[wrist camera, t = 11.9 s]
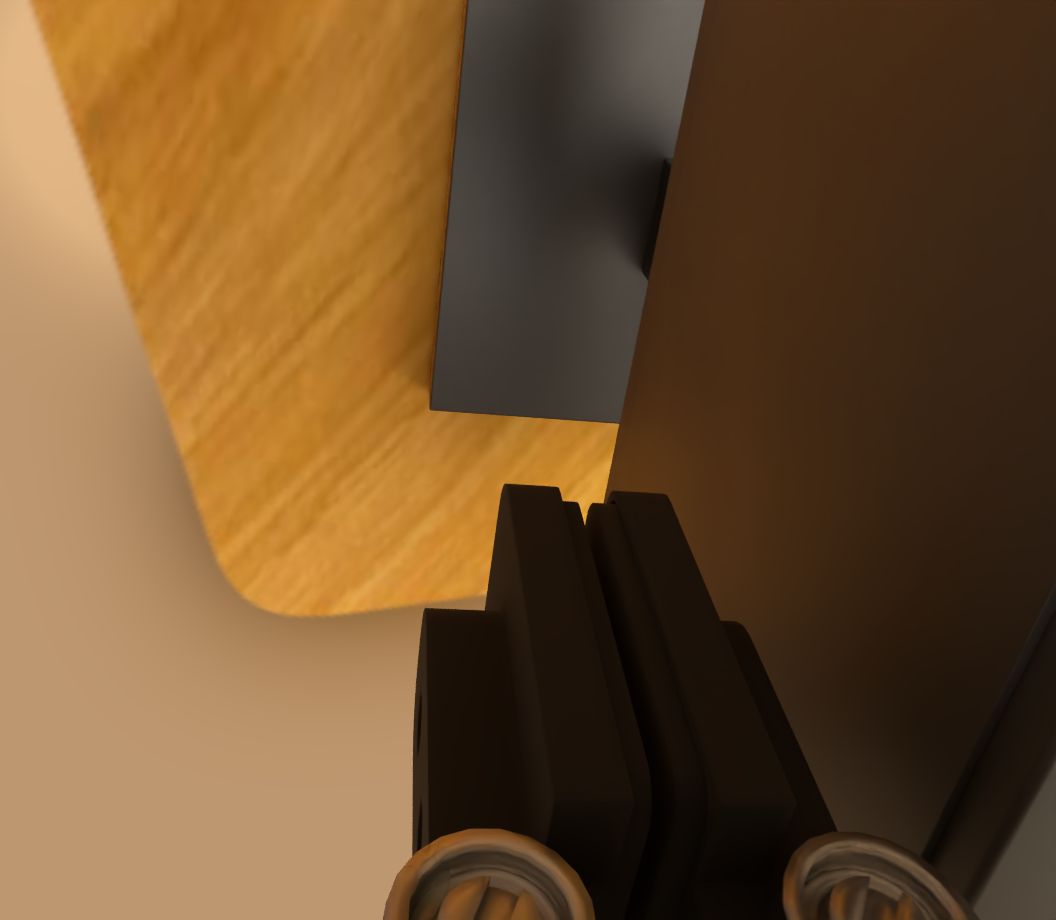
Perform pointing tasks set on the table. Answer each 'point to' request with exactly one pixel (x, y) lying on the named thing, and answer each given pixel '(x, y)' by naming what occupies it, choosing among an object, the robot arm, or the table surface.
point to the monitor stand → (555, 201)
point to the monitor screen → (874, 405)
